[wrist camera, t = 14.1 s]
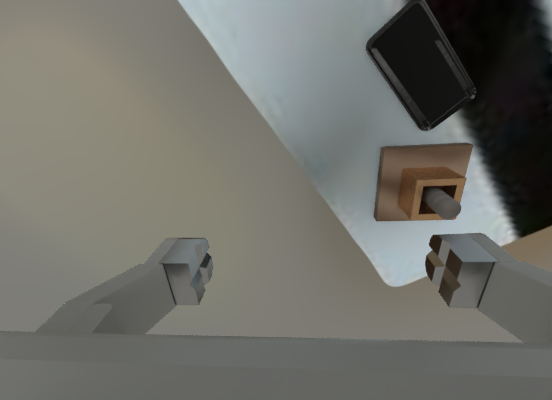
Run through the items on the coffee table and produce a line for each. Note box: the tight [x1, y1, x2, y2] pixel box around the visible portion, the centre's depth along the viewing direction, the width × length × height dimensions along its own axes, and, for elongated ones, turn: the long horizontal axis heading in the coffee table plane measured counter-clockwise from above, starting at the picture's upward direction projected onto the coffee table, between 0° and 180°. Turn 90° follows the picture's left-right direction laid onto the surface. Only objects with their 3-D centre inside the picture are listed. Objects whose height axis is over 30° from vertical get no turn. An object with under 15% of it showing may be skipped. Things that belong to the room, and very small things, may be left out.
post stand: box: [374, 143, 473, 221], centre depth 36 cm, size 12×12×10 cm
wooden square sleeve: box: [398, 166, 466, 220], centre depth 36 cm, size 6×6×5 cm
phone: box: [366, 0, 476, 131], centre depth 33 cm, size 8×1×15 cm
